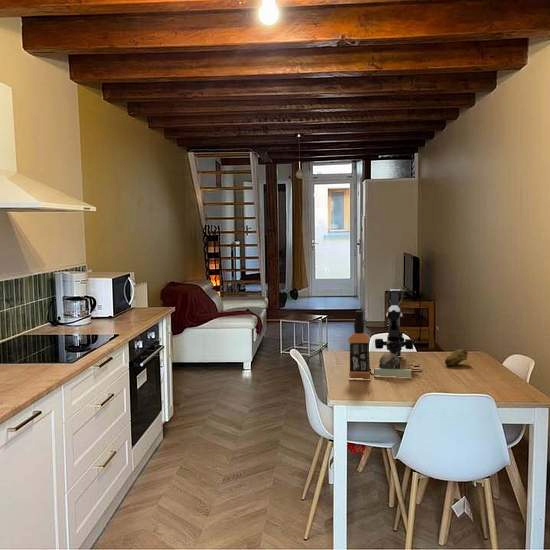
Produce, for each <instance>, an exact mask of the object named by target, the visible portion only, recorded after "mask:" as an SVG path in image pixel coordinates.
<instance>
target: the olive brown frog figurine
mask: <svg viewBox="0 0 550 550" xmlns="http://www.w3.org/2000/svg"><path fill="white" fill-rule="evenodd" d="M467 359H468V351H467V350H466V349H464V348H458V349H456V350H454V351H453V352H452V353H451V354H450V355H449V356H447V357H446V358H445V360H444V363H445V365H446V366H447V367H452V366H456V365H457V366H458V365H459V364H461V362H463V361H466V360H467Z"/></svg>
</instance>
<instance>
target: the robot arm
mask: <svg viewBox="0 0 550 550" xmlns="http://www.w3.org/2000/svg"><path fill="white" fill-rule="evenodd" d="M387 298H388V301H389V304H390V307H389V308H388V309H387V312H386V320H387V324H388V329H387V331H388V334H387V336H386V339H387V340H386V341H384V338H375V339H374V348H375V349H377V350H378V349H383V348H384V346H386V350H387V351H389V353H393V354H396V355H397V356H402V348H404V347H405V349H406V350H413V349H414V340H413V339H412V338H405V337H404V336H403V331H404V329H403V328H401V324H400V322H401V321H402V320H403V318H404V315H403V312H401V308H400V305H401V303H402V301H403V299H402V298H404V291H403V290H401V289H389V290H387Z"/></svg>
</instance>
